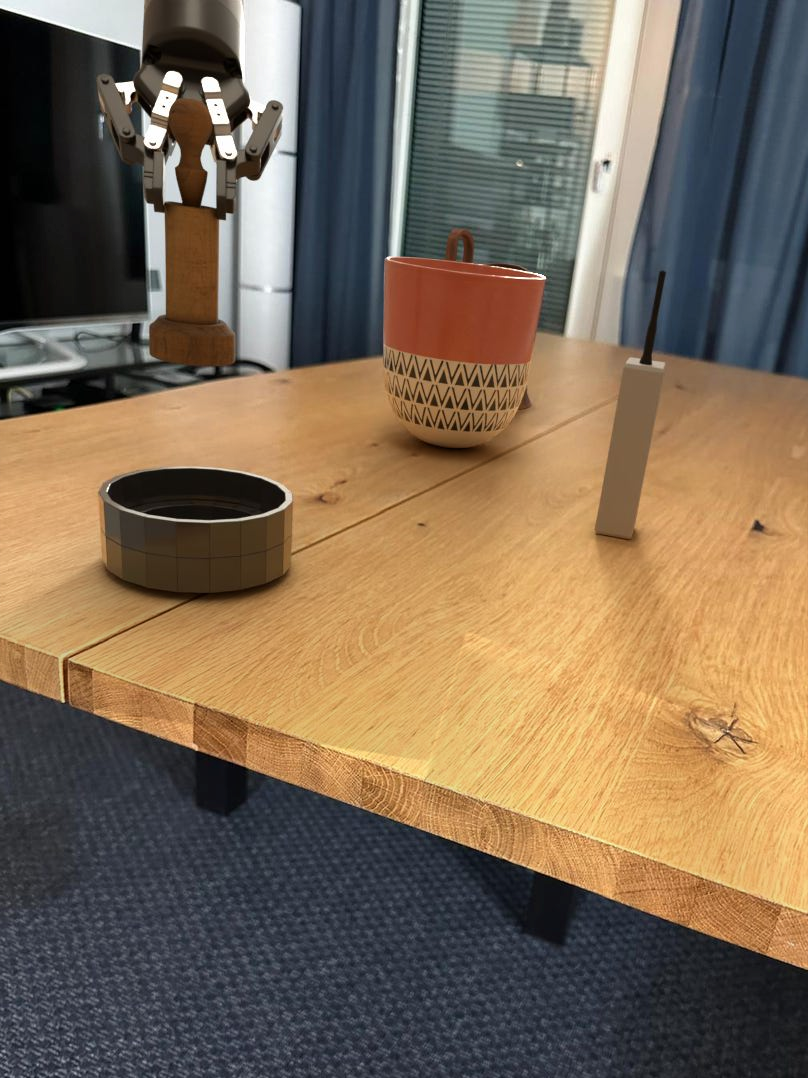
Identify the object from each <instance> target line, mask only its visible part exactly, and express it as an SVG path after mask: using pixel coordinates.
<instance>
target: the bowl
mask: <svg viewBox="0 0 808 1078" xmlns="http://www.w3.org/2000/svg"><path fill="white" fill-rule="evenodd" d="M97 496H98V497H97V498H98V515H99V531H100V547H101V560H102V563H104V566H105V568H106V569H107V570H106V571H108V572H110V573H112V574H113V575H115V576H116V577H118V578H120V579H121V580H123V581H125V582H129V583H132V584H135V585H137V586H138V585H139V586H141V587H144V588H148V589H154V590H161V591H165V592H174V593H187V594H215V593H226V592H232V591H233V592H234V591H235V592H236V591H241V590H242V591H243V590H245V589H246V590H247V589H251V588H253V587H258V586H262V585H265V584H268V583H270V582H272V581H274V580H276V579H279V578H280V577H282V576H284V575H285V573H286V572H287V571H288V570H289V569H290V567H291V566H292V552H293V551H292V549H293V547H292V546H293V519H294V498H293V492H292V491H291V490H290V489H288V488H287V486H285V485H284V484H282V483H280V482H278V481H276V480H273V479H271V478H270V477H267V476H263V475H259V474H255V473H251V472H247V471H243V470H236V469H229V468H221V467H211V466H210V467H209V466H195V465H194V466H193V465H192V466H189V465H186V466H185V465H183V466H159V467H151V468H144V469H143V468H142V469H137V470H133V471H129V472H125V473H122V474H121V473H120V474H118V475H115V476H112V477H111V478H109V479H108V480H106V481H103V482H102V484H101V486H100V487H99V490H98V491H97Z"/></svg>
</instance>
